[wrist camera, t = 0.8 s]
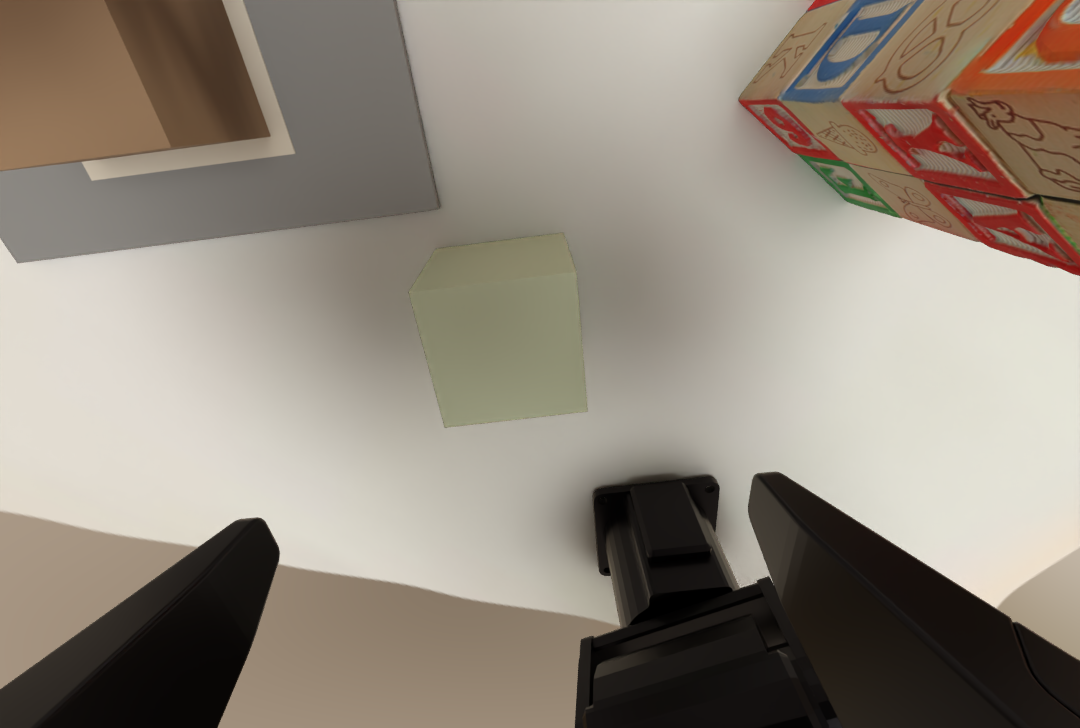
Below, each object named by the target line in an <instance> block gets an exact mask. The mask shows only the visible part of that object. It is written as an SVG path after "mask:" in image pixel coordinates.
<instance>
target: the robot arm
mask: <svg viewBox="0 0 1080 728" xmlns="http://www.w3.org/2000/svg"><path fill="white" fill-rule="evenodd" d="M708 486H710V487H708ZM706 487H707V488H706ZM719 490H720V488H719V485H718V483H717V481H716V479H715V478H713V477H701V478H692V479H682V480H673V481H664V482H655V483H646V484H636V485H627V486H618V487H609V488H601V489H597V490H596V491H595V492H594V493H593V508H594V520H595V532H596V544H597V556H598V567H599V572H600V574H602V575H604V576H611V579H612V584H613V589H614V595H615V600H616V605H617V611H618V616H619V622H620V627H621V628H620V629H618V630H614V631H612V632H609V633H606V634H603V635H600V636H597V637H593V636H589V637H587V638H584V639H581V645H580V658H579V665H578V666H579V667H578V682H577V699H576V717H575V728H1080V660H1078V659H1076V658H1075V657H1073V656H1071V655H1070V654H1068V653H1067V652H1065V651H1063V650H1062V649H1060V648H1059V647H1057V646H1055V645H1054V644H1052V643H1050V642H1049V641H1047V640H1046V639H1044V638H1043V637H1041V636H1039V635H1038V634H1036V633H1035V632H1033V631H1031V630H1029V629H1028V628H1027V627H1025V626H1023V625H1022V624H1020V623H1018V622H1012V620H1011V618H1010V617H1009V616H1007V615H1006V614H1004V613H1002V612H1001V611H999V610H998V609H996V608H995V607H993V606H991V605H990V604H988V603H987V602H985V601H983V600H982V599H980V598H979V597H977V596H975V595H974V594H972V593H971V592H969V591H968V590H966V589H964V588H963V587H961V586H960V585H958V584H956V583H955V582H953V581H952V580H950V579H949V578H947V577H945V576H944V575H942V574H941V573H939V572H937V571H936V570H934V569H933V568H931V567H929V566H928V565H926V564H925V563H923V562H922V561H920V560H918V559H917V558H915V557H914V556H912V555H910V554H909V553H907V552H906V551H904V550H902V549H901V548H899V547H898V546H896V545H895V544H893V543H891V542H890V541H888V540H887V539H885V538H883V537H882V536H880V535H879V534H877V533H875V532H874V531H872V530H871V529H869V528H868V527H866V526H864V525H863V524H861V523H860V522H858V521H856V520H855V519H853V518H852V517H850V516H848V515H847V514H845V513H844V512H842V511H841V510H839V509H837V508H836V507H834V506H833V505H831V504H829V503H828V502H826V501H825V500H823V499H822V498H820V497H818V496H817V495H815V494H814V493H812V492H810V491H809V490H807V489H806V488H804V487H802V486H801V485H799V484H798V483H796V482H795V481H793V480H791V479H790V478H788V477H787V476H785V475H783V474H782V473H779V472H766V473H757V474H755V475H754V477H753V480H752V485H751V491H750V497H749V504H748V513H749V518H750V521H751V524H752V527H753V529H754V532H755V535H756V538H757V540H758V543H759V546H760V548H761V551H762V554H763V556H764V559H765V562H766V564H767V567H768V570H769V573H770V575H771V578H772V581H773V583H774V585H773V583H772V581H771V579H770V577H769V576H768V577H765V578H762V579H759V580H757V583H755V584H752V585H749V586H746V587H743V588H739V585H738V583H737V581H736V579H735V576H734V574H733V572H732V570H731V568H730V565H729V563H728V561H727V559H726V556H725V554H724V552H723V550H722V548H721V545H720V543H719V541H718V539H717V537H716V534H715V530H716V520H717V510H718V500H719ZM602 497H605V498H604V499H600V498H602ZM279 556H280V551H279V547H278V545H277V543H276V541H275V539H274V537H273V535H272V533H271V531H270V529H269V527H268V525H267V524H266V522H265V521H264V520H263V519H261V518H246V519H239V520H236V521H235V522H233V523H232V524H230V525H229V526H227V527H226V528H225V529H223V530H222V531H220V532H219V533H218V534H216V535H215V536H213V537H212V538H211V539H209V540H208V541H206V542H205V543H204V544H202V545H201V546H199V547H198V548H197V549H195V550H194V551H192V552H191V553H190V554H188V555H187V556H186V557H184V558H183V559H181V560H180V561H179V562H177V563H176V564H175V565H173V566H172V567H170V568H169V569H168V570H166V571H165V572H163V573H162V574H160V575H159V576H158V577H156V578H155V579H153V580H152V581H151V582H149V583H148V584H146V585H145V586H144V587H142V588H141V589H140V590H138V591H137V592H135V593H134V594H133V595H131V596H130V597H128V598H127V599H126V600H124V601H123V602H121V603H120V604H119V605H117V606H116V607H114V608H113V609H112V610H110V611H109V612H107V613H106V614H105V615H103V616H102V617H100V618H99V619H98V620H96V621H95V622H93V623H92V624H91V625H89V626H88V627H86V628H85V629H84V630H82V631H81V632H80V633H78V634H77V635H75V636H74V637H72V638H71V639H70V640H68V641H67V642H65V643H64V644H63V645H61V646H60V647H59V648H57V649H56V650H54V651H53V652H51V653H50V654H49V655H48V656H46V657H45V658H43V659H42V660H41V661H39V662H38V663H36V664H35V665H33V666H32V667H31V668H29V669H28V670H26V671H25V672H24V673H22V674H21V675H20V676H18V677H17V678H15V679H14V680H12V681H11V682H10V683H8V684H7V685H6V686H4V687H3V688H2V689H0V728H218V725H219V722H220V720H221V718H222V716H223V713H224V711H225V709H226V706H227V704H228V701H229V699H230V697H231V694H232V692H233V689H234V687H235V685H236V682H237V680H238V678H239V675H240V673H241V671H242V668H243V666H244V664H245V661H246V659H247V656H248V654H249V651H250V648H251V646H252V642H253V640H254V637H255V635H256V631H257V629H258V625H259V622H260V619H261V616H262V613H263V609H264V606H265V603H266V600H267V597H268V594H269V591H270V587H271V584H272V581H273V577H274V575H275V572H276V568H277V565H278V562H279Z"/></svg>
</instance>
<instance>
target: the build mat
mask: <svg viewBox="0 0 1080 728" xmlns="http://www.w3.org/2000/svg"><path fill="white" fill-rule="evenodd" d="M222 2H223V4H224V7H225V10H226V13H227V15H228V18H229V21H230V24H231V27H232V29H233V32H234V35H235V38H236V41H237V43H238V46H239V49H240V52H241V54H242V57H243V60H244V63H245V66H246V68H247V71H248V74H249V77H250V79H251V82H252V85H253V88H254V91H255V93H256V96H257V99H258V102H259V105H260V107H261V110H262V113H263V116H264V118H265V121H266V124H267V127H268V130H269V132H270V135H271V137H265V138H257V139H250V140H242V141H235V142H227V143H220V144H212V145H205V146H197V147H190V148H182V149H175V150H168V151H160V152H153V153H145V154H138V155H130V156H123V157H115V158H108V159H100V160H92V161H84V162H75V163H67V164H58V165H50V166H41V167H33V168H25V169H16V170H8V171H0V238H1V240H2V241H3V243H4V244H5V246H6V247H7V249H8V250H9V252H10V253H11V255H12V256H13V258H14V259H15V260H16V262H17V263H24V262H32V261H39V260H47V259H55V258H63V257H71V256H79V255H86V254H94V253H102V252H110V251H118V250H126V249H133V248H141V247H149V246H157V245H165V244H172V243H180V242H188V241H196V240H204V239H212V238H219V237H227V236H235V235H243V234H251V233H259V232H266V231H274V230H282V229H290V228H298V227H306V226H313V225H321V224H329V223H337V222H345V221H353V220H360V219H368V218H376V217H384V216H392V215H399V214H407V213H415V212H423V211H431V210H438V209H439V208H440V206H439V201H438V196H437V192H436V187H435V182H434V178H433V173H432V168H431V164H430V159H429V154H428V150H427V145H426V140H425V136H424V131H423V126H422V122H421V117H420V112H419V107H418V103H417V98H416V93H415V89H414V84H413V79H412V75H411V70H410V65H409V61H408V56H407V51H406V47H405V42H404V37H403V33H402V28H401V23H400V19H399V14H398V9H397V5H396V0H222Z"/></svg>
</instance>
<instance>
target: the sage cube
mask: <svg viewBox="0 0 1080 728" xmlns="http://www.w3.org/2000/svg"><path fill="white" fill-rule="evenodd" d="M408 293H409V296H410V300H411V304H412V308H413V311H414V315H415V319H416V322H417V326H418V330H419V334H420V337H421V341H422V345H423V349H424V352H425V356H426V360H427V363H428V367H429V371H430V375H431V378H432V382H433V386H434V389H435V393H436V397H437V401H438V404H439V408H440V412H441V415H442V419H443V423H444V427H445V428H447V427H456V426H465V425H473V424H482V423H491V422H500V421H508V420H517V419H526V418H535V417H543V416H552V415H561V414H570V413H578V412H587V411H588V410H587V397H586V385H585V372H584V360H583V348H582V335H581V323H580V310H579V298H578V286H577V273H576V269H575V266H574V263H573V260H572V257H571V254H570V251H569V248H568V245H567V242H566V239H565V236H564V233H557V234H549V235H541V236H533V237H525V238H517V239H509V240H501V241H493V242H485V243H477V244H469V245H461V246H453V247H445V248H437V249H435V251H434V253H433V254H432V256H431V257H430V259H429V261H428V262H427V264H426V265H425V267H424V268H423V270H422V272H421V273H420V275H419V276H418V278H417V280H416V281H415V283H414V284H413V286H412V288H411V289H410V291H409V292H408Z"/></svg>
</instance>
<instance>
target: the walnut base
mask: <svg viewBox="0 0 1080 728" xmlns="http://www.w3.org/2000/svg"><path fill="white" fill-rule="evenodd" d="M265 137H271V135H270V132H269V130H268V127H267V124H266V121H265V118H264V116H263V113H262V110H261V107H260V105H259V102H258V99H257V96H256V93H255V91H254V88H253V85H252V82H251V79H250V77H249V74H248V71H247V68H246V66H245V63H244V60H243V57H242V54H241V52H240V49H239V46H238V43H237V41H236V38H235V35H234V32H233V29H232V27H231V24H230V21H229V18H228V15H227V13H226V10H225V7H224V4H223V2H222V0H0V171H8V170H16V169H25V168H33V167H41V166H50V165H58V164H67V163H75V162H84V161H92V160H100V159H108V158H115V157H123V156H130V155H138V154H145V153H153V152H160V151H168V150H175V149H182V148H190V147H197V146H205V145H212V144H220V143H227V142H235V141H242V140H250V139H257V138H265Z"/></svg>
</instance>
